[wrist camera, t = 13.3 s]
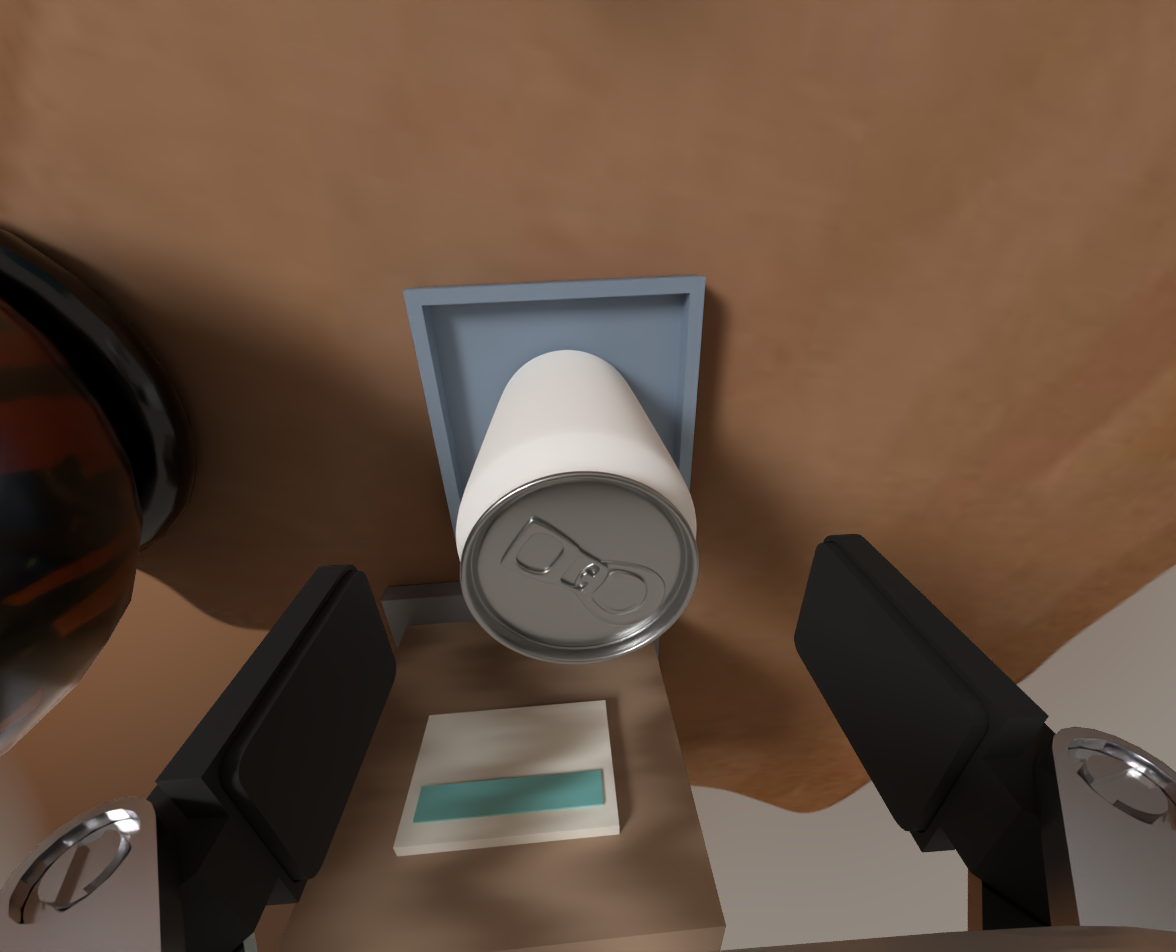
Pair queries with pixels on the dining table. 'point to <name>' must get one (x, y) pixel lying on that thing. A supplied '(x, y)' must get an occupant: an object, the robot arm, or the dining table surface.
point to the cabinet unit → (512, 806)
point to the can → (575, 518)
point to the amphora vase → (74, 477)
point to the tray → (545, 324)
